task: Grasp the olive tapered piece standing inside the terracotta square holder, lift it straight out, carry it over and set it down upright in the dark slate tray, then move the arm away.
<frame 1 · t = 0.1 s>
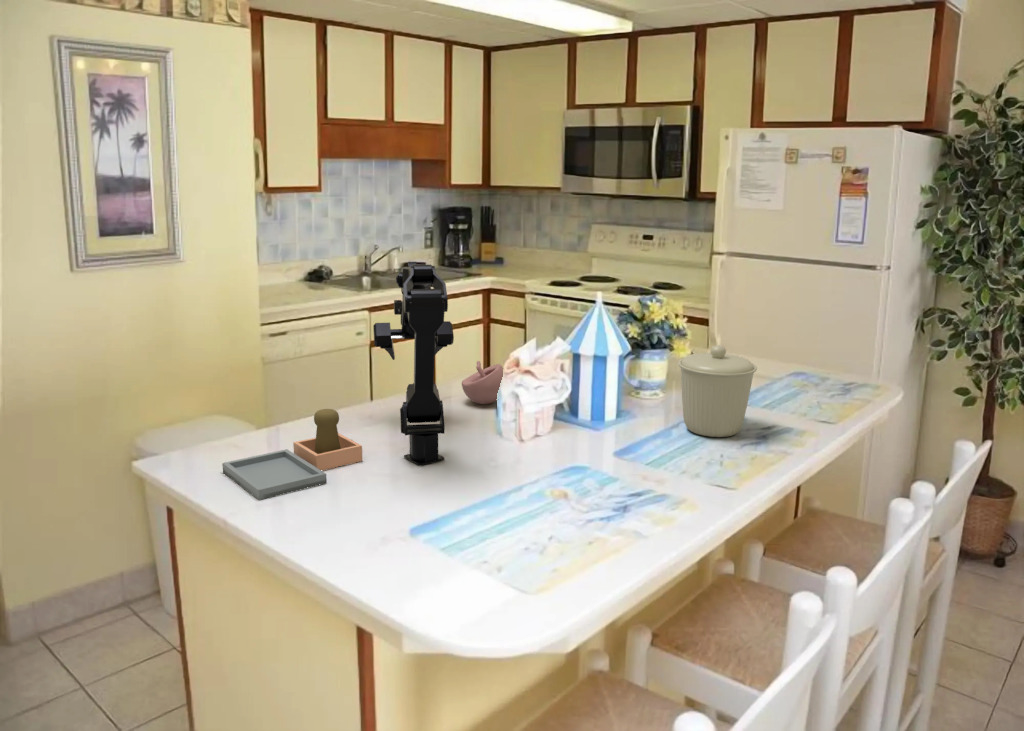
hand: (412, 357, 209), 15 cm above the countertop, tool tilted 35°, fingers open, 9 cm apart
tray: (274, 477, 171), on the countertop
canister: (712, 431, 204), on the countertop
holder: (328, 459, 181), on the countertop
mortar and pestle: (484, 404, 224), on the countertop
olive tapered piece: (328, 460, 181), resting in holder
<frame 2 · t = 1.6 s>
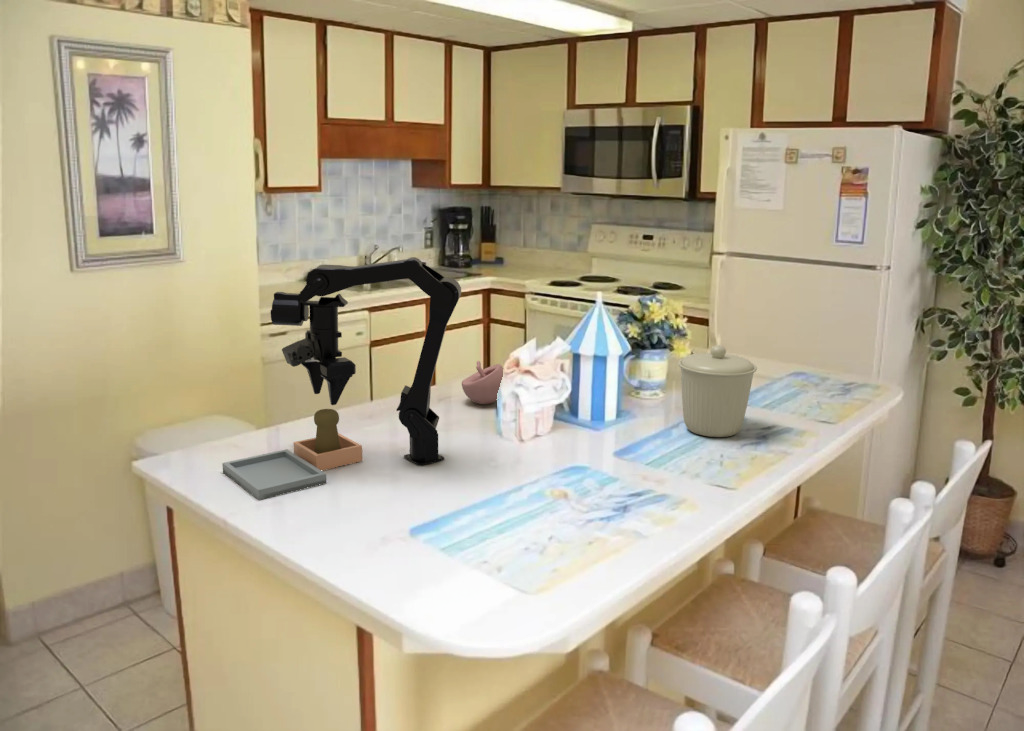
hand: (325, 399, 180), 13 cm above the countertop, tool pointing down, fingers open, 9 cm apart
nothing on the countertop moved.
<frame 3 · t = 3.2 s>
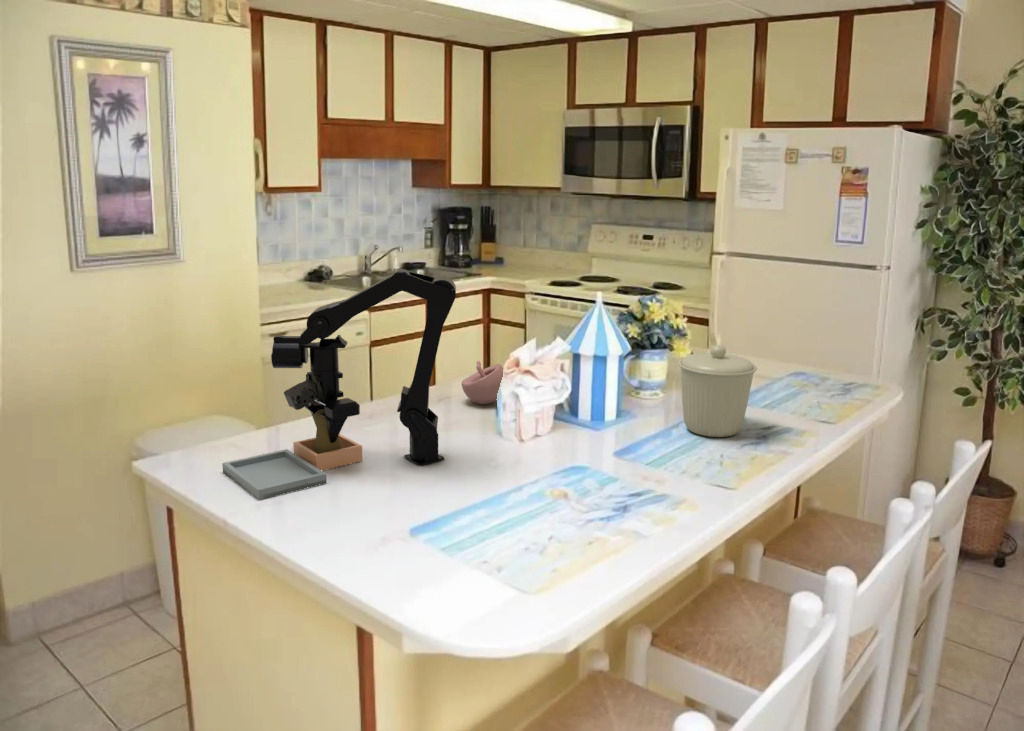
hand: (327, 439, 180), 5 cm above the countertop, tool pointing down, fingers closed on olive tapered piece, 4 cm apart
olive tapered piece: (328, 460, 181), resting in holder, touching gripper
everything else where it was.
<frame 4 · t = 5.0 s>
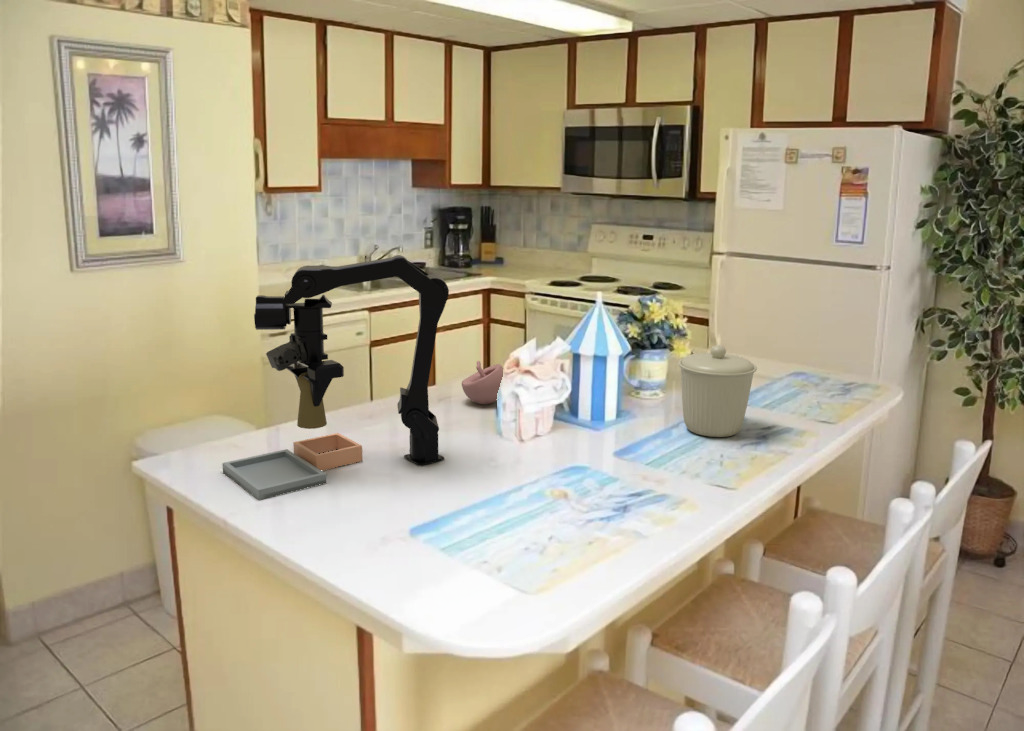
hand: (311, 403, 175), 13 cm above the countertop, tool pointing down, fingers closed on olive tapered piece, 4 cm apart
olive tapered piece: (312, 425, 177), point 9 cm above the countertop, touching gripper
everything else where it was.
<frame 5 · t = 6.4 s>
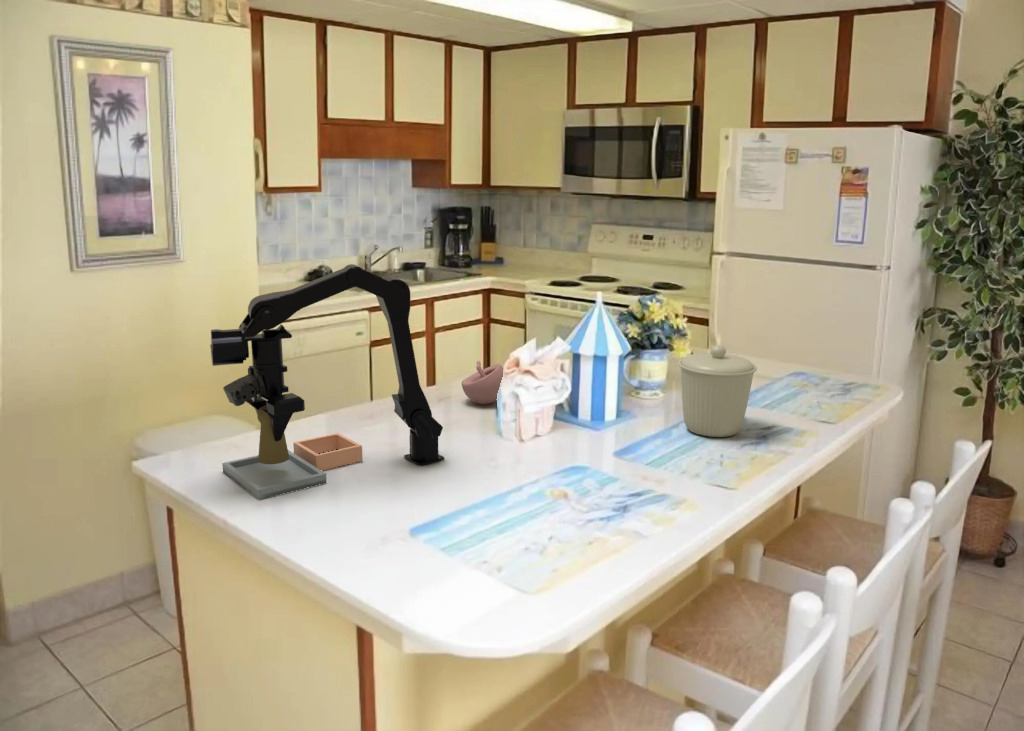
hand: (272, 437, 169), 8 cm above the countertop, tool pointing down, fingers closed on olive tapered piece, 4 cm apart
olive tapered piece: (273, 459, 170), point 4 cm above the countertop, touching gripper
everything else where it was.
when the fingers open (7 cm above the countertop, at t = 7.1 s): olive tapered piece drops 1 cm, resting on tray.
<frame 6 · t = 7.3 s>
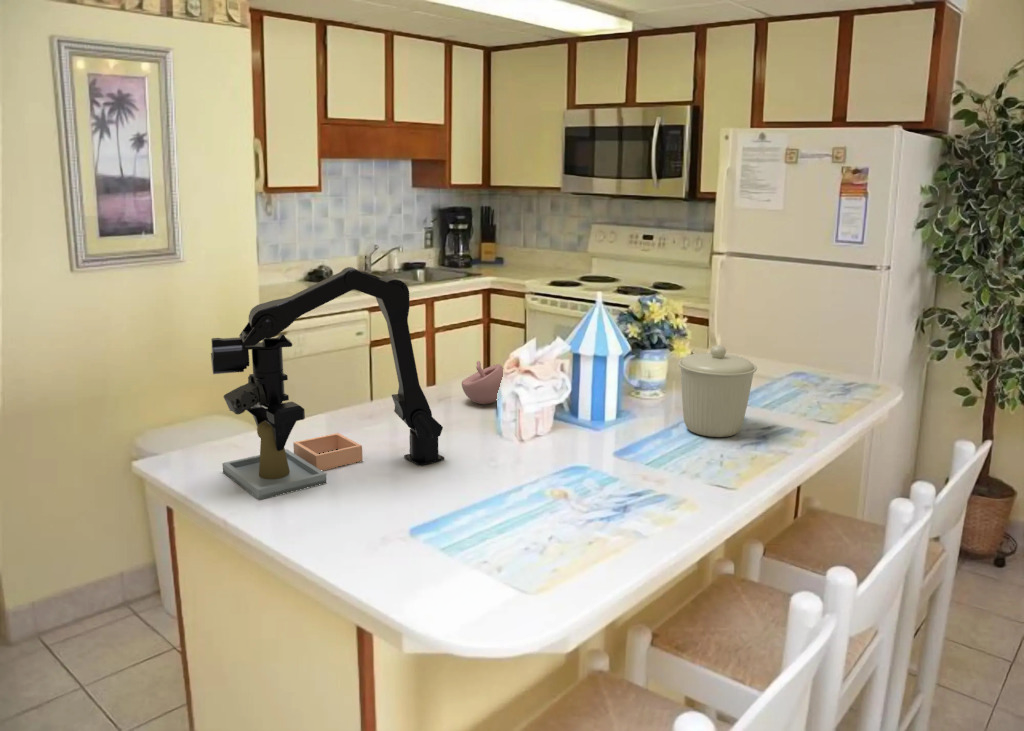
hand: (272, 445, 169), 7 cm above the countertop, tool pointing down, fingers open, 7 cm apart
olive tapered piece: (274, 474, 171), point 1 cm above the countertop, touching tray
everything else where it was.
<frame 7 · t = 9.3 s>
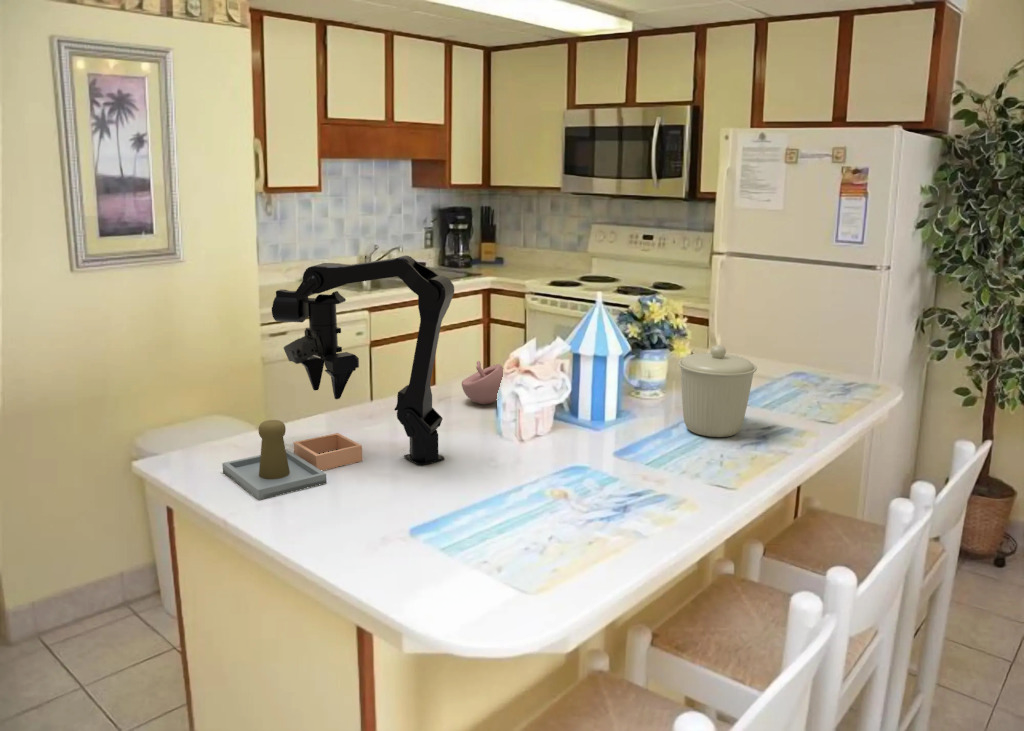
hand: (326, 394, 184), 13 cm above the countertop, tool pointing down, fingers open, 9 cm apart
nothing on the countertop moved.
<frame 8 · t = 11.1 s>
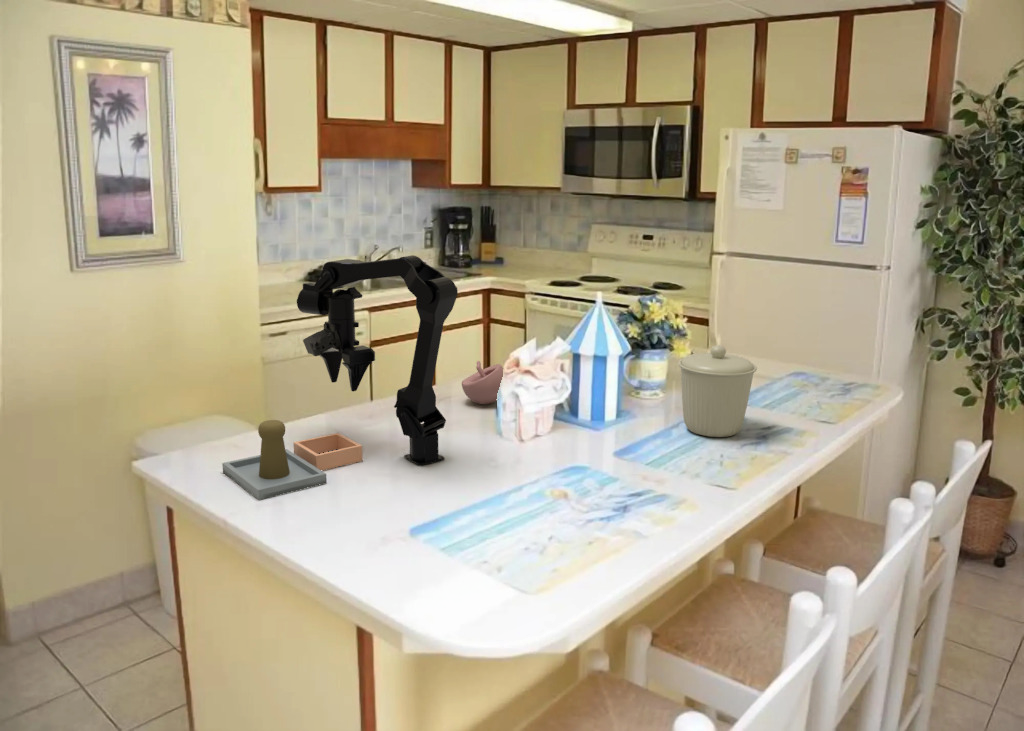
hand: (343, 386, 189), 13 cm above the countertop, tool pointing down, fingers open, 9 cm apart
nothing on the countertop moved.
at the end: olive tapered piece inside the target area on the tray (0.1 cm from its centre), point 0.6 cm above the tray's base; olive tapered piece tilted 0°; the gripper is holding nothing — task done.
